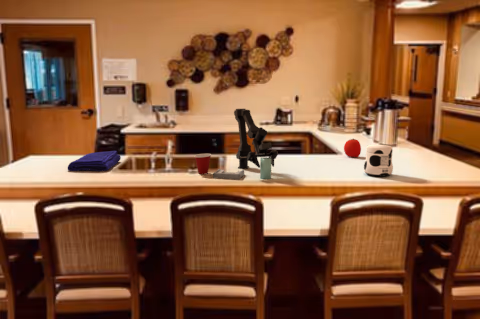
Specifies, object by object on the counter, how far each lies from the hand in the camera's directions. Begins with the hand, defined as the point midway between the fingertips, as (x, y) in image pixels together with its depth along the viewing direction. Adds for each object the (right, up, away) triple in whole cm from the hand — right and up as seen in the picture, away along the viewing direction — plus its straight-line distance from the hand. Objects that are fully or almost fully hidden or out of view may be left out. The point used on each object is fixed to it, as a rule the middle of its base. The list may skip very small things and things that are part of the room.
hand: (266, 166), depth 286 cm
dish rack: (-23, -6, +7) cm, 24 cm away
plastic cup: (-39, -4, +15) cm, 42 cm away
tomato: (+69, +6, +76) cm, 103 cm away
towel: (-112, -1, +36) cm, 118 cm away
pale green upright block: (-1, -7, +2) cm, 7 cm away
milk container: (+70, -5, +13) cm, 71 cm away
